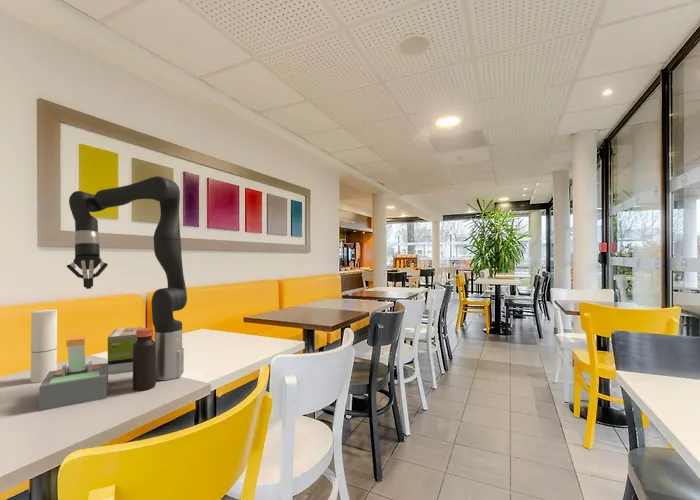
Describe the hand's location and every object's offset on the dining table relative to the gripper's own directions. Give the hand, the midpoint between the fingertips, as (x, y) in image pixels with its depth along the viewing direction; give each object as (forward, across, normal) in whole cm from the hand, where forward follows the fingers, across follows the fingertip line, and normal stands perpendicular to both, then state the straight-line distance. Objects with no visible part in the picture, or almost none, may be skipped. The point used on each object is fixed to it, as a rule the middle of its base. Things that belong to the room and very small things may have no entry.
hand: (88, 288), depth 129 cm
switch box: (+35, -3, -17) cm, 39 cm away
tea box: (+33, +11, +8) cm, 36 cm away
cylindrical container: (+32, -15, +9) cm, 36 cm away
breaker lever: (+28, -2, -17) cm, 33 cm away
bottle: (+37, +16, -21) cm, 45 cm away
